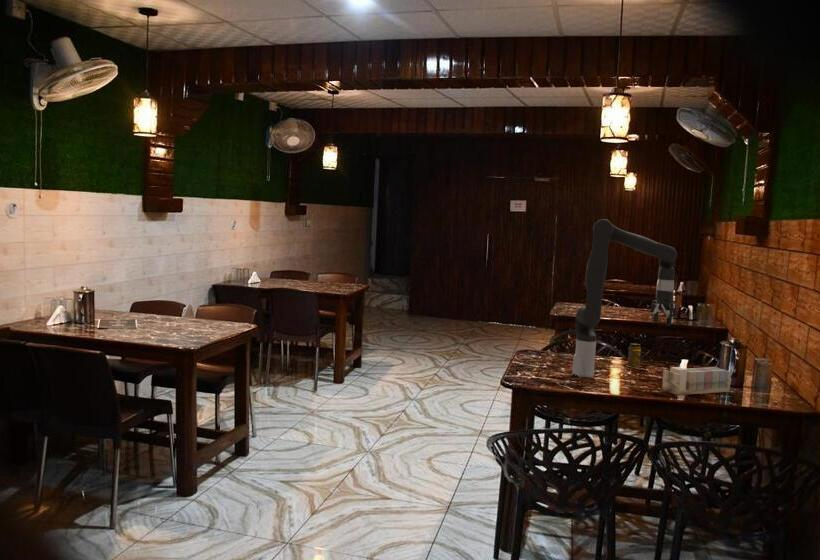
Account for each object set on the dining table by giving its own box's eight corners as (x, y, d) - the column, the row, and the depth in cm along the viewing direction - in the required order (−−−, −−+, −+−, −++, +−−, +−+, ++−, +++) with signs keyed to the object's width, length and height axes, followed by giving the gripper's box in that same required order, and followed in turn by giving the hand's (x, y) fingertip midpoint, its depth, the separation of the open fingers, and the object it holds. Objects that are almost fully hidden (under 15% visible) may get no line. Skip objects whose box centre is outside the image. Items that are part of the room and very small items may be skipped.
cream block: (678, 390, 285) (680, 370, 284) (669, 387, 290) (670, 367, 289) (685, 389, 286) (687, 369, 286) (676, 386, 291) (677, 366, 291)
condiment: (642, 368, 338) (644, 345, 337) (627, 367, 336) (629, 345, 335) (636, 365, 345) (637, 342, 344) (621, 364, 344) (622, 342, 343)
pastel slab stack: (729, 391, 293) (730, 370, 292) (676, 394, 282) (678, 373, 282) (713, 386, 301) (715, 366, 301) (661, 389, 291) (663, 368, 290)
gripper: (648, 287, 308) (645, 321, 309) (669, 291, 294) (665, 326, 296) (661, 288, 310) (658, 321, 312) (682, 291, 297) (679, 326, 298)
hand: (661, 324), depth 304 cm, fingers open, 8 cm apart
